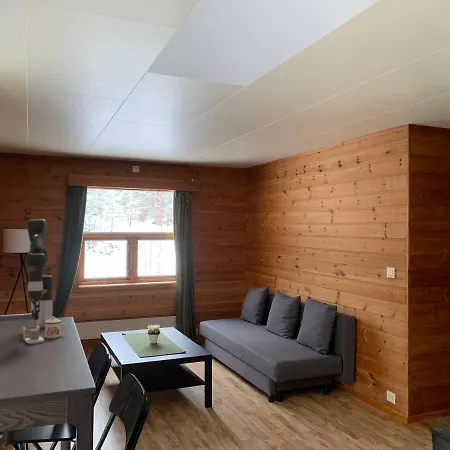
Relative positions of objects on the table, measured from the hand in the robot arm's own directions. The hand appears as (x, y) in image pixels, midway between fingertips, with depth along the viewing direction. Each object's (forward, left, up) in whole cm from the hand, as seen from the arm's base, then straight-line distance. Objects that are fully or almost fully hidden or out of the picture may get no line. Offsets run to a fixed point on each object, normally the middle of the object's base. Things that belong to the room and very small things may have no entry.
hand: (35, 318), depth 260 cm
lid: (0, 0, -12) cm, 12 cm away
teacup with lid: (-10, +13, -13) cm, 21 cm away
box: (-12, 0, -13) cm, 18 cm away
